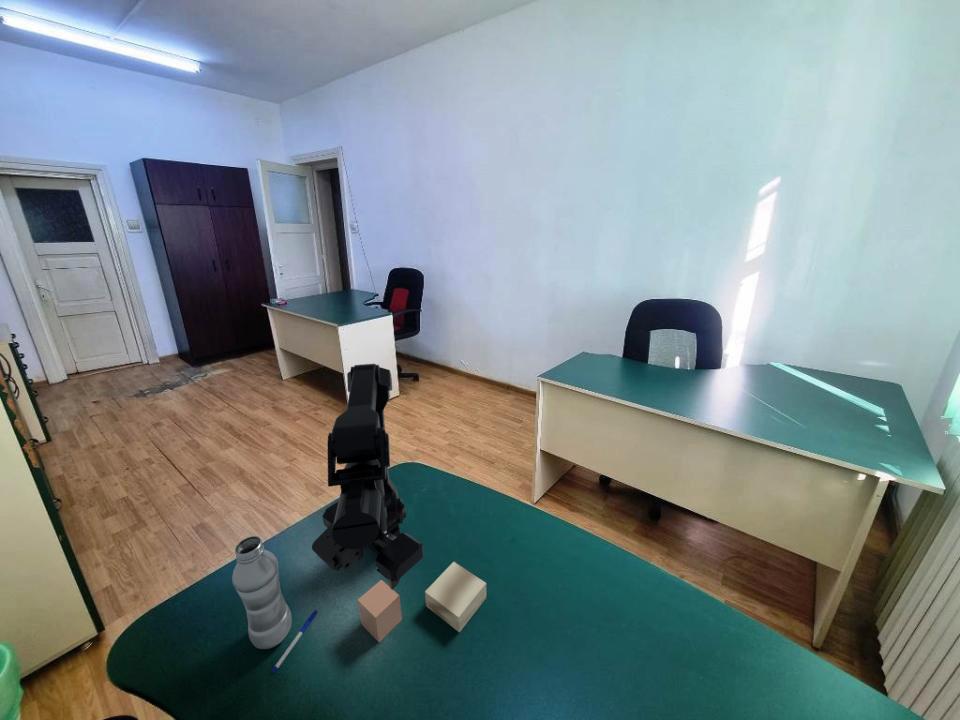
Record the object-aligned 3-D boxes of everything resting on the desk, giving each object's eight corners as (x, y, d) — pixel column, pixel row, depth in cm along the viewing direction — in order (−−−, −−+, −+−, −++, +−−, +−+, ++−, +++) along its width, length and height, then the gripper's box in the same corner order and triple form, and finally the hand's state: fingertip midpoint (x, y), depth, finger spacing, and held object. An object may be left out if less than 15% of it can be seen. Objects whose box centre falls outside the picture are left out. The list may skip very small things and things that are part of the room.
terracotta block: (361, 624, 66) (357, 600, 64) (384, 603, 70) (381, 579, 68) (379, 642, 63) (375, 617, 61) (402, 619, 67) (399, 595, 65)
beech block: (426, 607, 69) (424, 591, 68) (454, 576, 75) (453, 561, 74) (459, 633, 64) (458, 617, 63) (486, 598, 71) (486, 583, 69)
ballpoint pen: (314, 611, 68) (313, 607, 68) (318, 612, 68) (317, 608, 68) (271, 674, 59) (269, 670, 59) (275, 675, 59) (274, 671, 58)
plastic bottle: (251, 663, 60) (220, 570, 53) (253, 626, 66) (226, 537, 59) (294, 643, 63) (271, 552, 56) (293, 609, 69) (271, 523, 62)
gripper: (283, 499, 57) (301, 576, 62) (356, 563, 46) (370, 649, 51) (347, 464, 65) (358, 534, 70) (422, 511, 54) (428, 590, 59)
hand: (376, 572), depth 62 cm, fingers open, 9 cm apart
